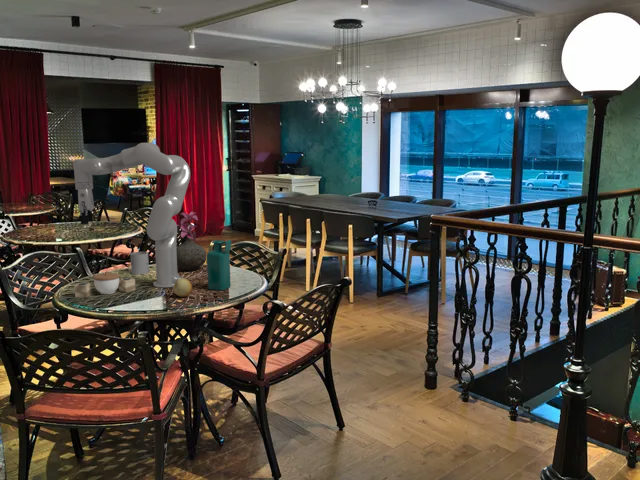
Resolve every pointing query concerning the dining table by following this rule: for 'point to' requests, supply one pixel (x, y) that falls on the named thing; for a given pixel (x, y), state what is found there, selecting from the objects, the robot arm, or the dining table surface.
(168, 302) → the dining table surface
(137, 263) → the mug
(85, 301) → the dining table surface
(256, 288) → the dining table surface
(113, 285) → the lidded jar
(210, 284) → the teal bottle
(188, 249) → the vase
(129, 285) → the marked cube 2
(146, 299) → the dining table surface
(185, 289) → the fruit
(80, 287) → the marked cube 1
